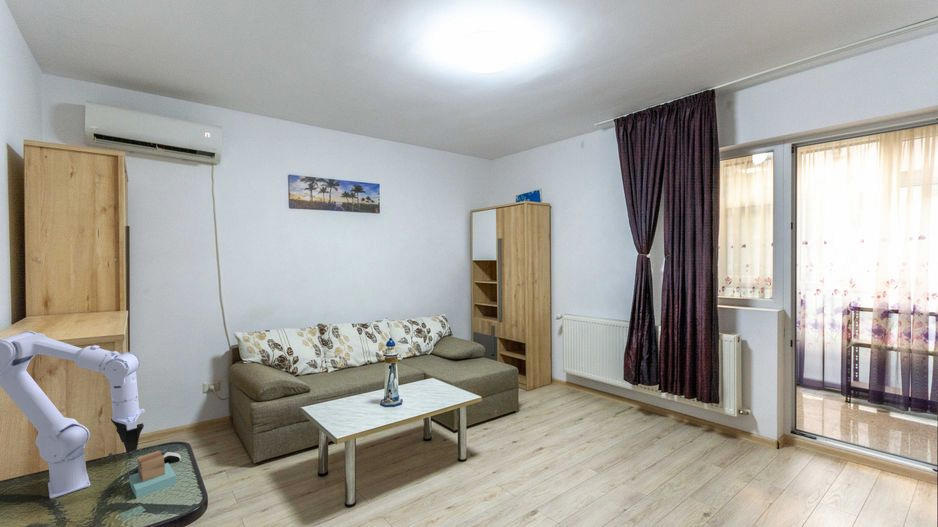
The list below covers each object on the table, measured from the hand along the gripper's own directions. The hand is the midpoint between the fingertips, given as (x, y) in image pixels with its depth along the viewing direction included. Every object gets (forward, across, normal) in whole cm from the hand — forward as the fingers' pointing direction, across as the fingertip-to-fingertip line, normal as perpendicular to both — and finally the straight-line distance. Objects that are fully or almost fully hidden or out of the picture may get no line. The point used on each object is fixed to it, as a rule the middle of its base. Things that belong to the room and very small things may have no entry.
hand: (129, 445), depth 120 cm
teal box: (+11, -6, -4) cm, 13 cm away
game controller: (+11, +4, -7) cm, 13 cm away
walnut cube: (+8, -5, -4) cm, 10 cm away
